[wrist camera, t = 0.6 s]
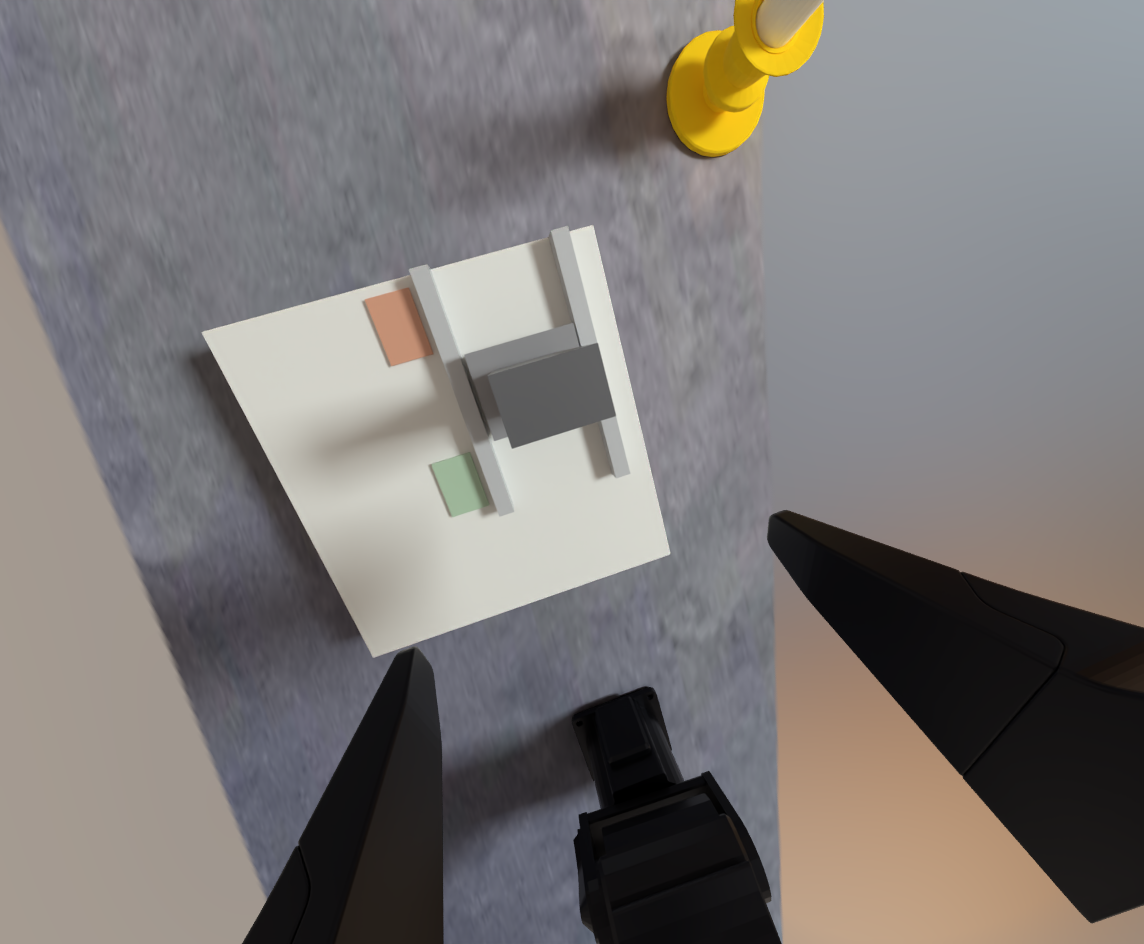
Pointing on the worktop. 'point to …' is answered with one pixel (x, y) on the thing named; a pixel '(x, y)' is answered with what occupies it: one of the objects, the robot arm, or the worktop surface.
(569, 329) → the handle
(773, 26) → the candle
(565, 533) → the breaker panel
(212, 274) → the worktop surface
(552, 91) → the worktop surface
